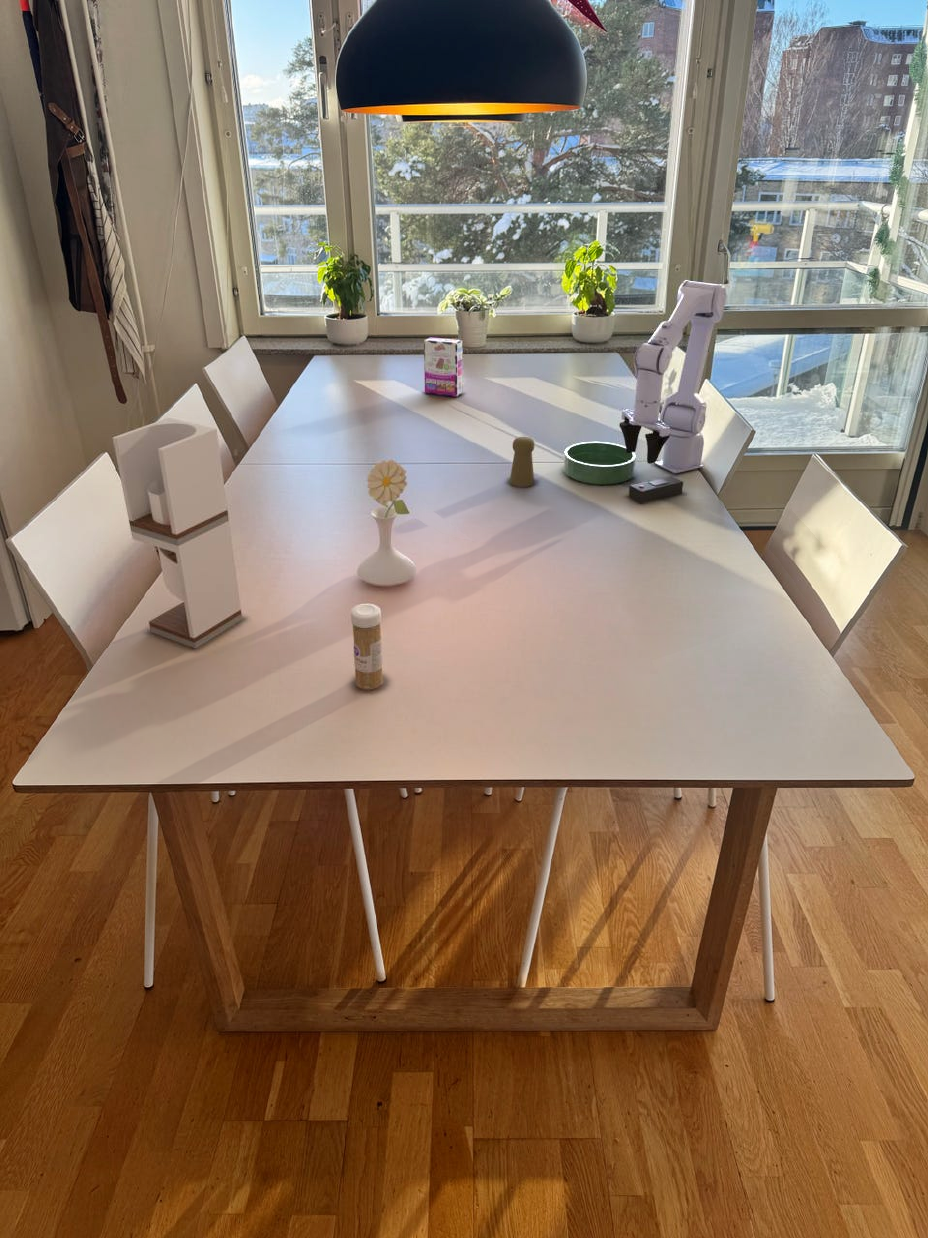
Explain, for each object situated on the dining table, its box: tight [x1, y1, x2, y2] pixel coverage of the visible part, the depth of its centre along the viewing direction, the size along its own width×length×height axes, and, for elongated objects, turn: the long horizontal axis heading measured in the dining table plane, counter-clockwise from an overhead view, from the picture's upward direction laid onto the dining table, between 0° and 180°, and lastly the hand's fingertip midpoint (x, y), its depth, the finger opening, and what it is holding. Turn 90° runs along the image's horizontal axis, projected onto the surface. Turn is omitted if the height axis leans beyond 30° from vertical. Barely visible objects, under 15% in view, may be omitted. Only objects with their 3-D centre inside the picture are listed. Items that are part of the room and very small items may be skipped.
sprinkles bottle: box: [350, 603, 384, 691], centre depth 140 cm, size 5×5×13 cm
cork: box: [509, 436, 535, 488], centre depth 215 cm, size 6×6×11 cm
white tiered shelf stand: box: [112, 417, 243, 649], centre depth 149 cm, size 11×11×35 cm
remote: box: [628, 475, 684, 504], centre depth 210 cm, size 12×4×3 cm, turn 120°
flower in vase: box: [356, 459, 417, 588], centre depth 167 cm, size 13×11×25 cm
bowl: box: [563, 441, 637, 486], centre depth 222 cm, size 17×17×5 cm
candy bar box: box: [423, 336, 464, 398], centre depth 277 cm, size 11×5×16 cm, turn 67°
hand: (641, 457), depth 208 cm, fingers open, 7 cm apart
